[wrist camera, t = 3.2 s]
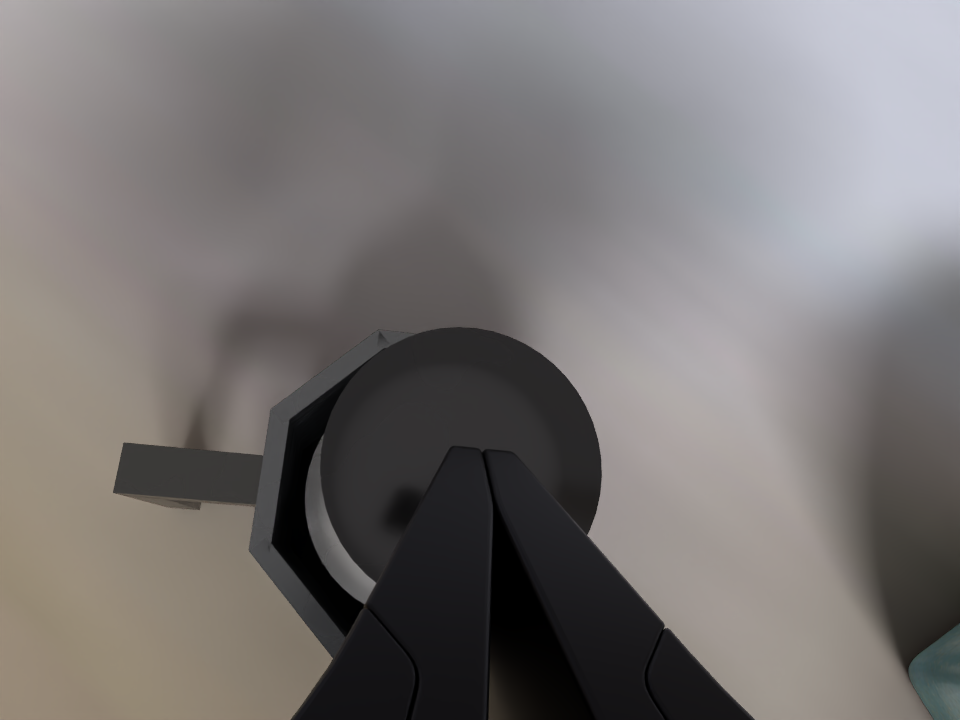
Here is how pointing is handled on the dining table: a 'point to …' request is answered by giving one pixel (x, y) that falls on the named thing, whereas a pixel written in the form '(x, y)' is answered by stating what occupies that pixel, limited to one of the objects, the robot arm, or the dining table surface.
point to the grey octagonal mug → (267, 491)
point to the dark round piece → (440, 440)
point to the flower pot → (939, 676)
